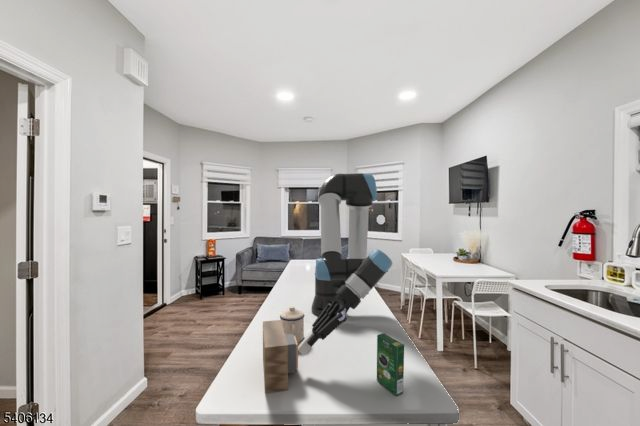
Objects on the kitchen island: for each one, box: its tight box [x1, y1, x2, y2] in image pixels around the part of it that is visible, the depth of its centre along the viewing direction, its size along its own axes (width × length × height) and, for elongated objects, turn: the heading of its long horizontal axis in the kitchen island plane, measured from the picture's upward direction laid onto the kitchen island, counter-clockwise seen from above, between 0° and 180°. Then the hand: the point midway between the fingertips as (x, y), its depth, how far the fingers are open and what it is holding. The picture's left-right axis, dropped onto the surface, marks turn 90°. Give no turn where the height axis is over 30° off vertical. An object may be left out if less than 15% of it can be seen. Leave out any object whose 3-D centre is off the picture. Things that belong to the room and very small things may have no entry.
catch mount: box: [262, 319, 289, 394], centre depth 84 cm, size 6×18×12 cm, turn 13°
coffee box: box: [376, 332, 405, 397], centre depth 77 cm, size 8×3×13 cm, turn 29°
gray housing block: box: [285, 334, 299, 374], centre depth 85 cm, size 9×7×8 cm
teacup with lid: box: [279, 306, 305, 343], centre depth 106 cm, size 12×9×12 cm
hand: (300, 351), depth 86 cm, fingers closed
